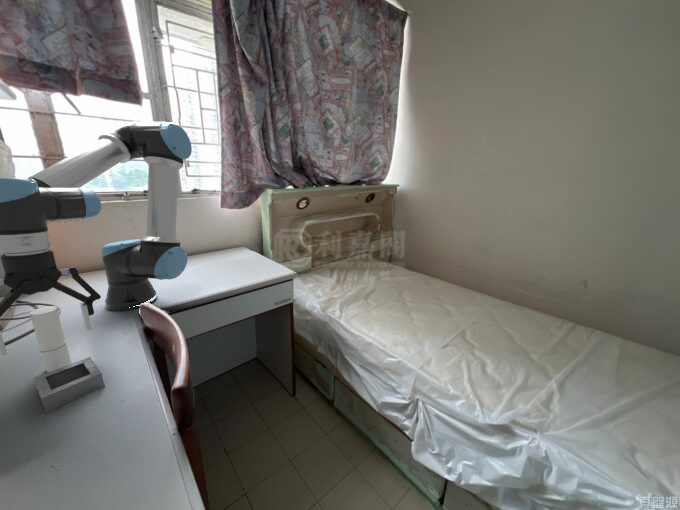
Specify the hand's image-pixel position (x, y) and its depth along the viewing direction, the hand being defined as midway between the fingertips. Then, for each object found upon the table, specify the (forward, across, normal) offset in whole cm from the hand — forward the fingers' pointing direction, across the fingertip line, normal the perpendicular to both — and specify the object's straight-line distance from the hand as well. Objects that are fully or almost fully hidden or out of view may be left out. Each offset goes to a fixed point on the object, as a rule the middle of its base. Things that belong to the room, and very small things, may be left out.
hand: (49, 339), depth 63 cm
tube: (+8, 0, 0) cm, 8 cm away
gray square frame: (+8, 0, -12) cm, 14 cm away
